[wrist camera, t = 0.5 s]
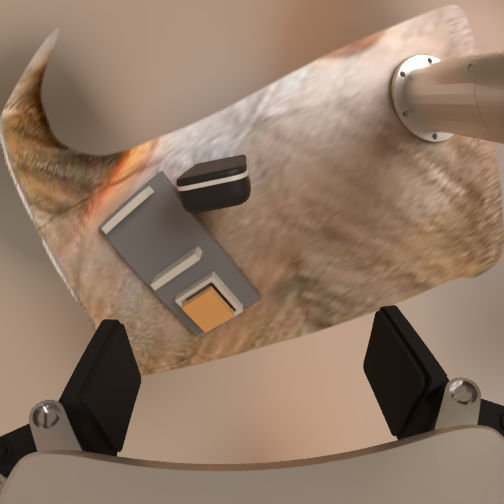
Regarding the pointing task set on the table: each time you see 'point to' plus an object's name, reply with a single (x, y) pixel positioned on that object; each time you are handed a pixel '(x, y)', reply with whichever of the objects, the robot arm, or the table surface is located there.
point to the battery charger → (215, 184)
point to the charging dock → (175, 251)
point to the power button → (208, 309)
